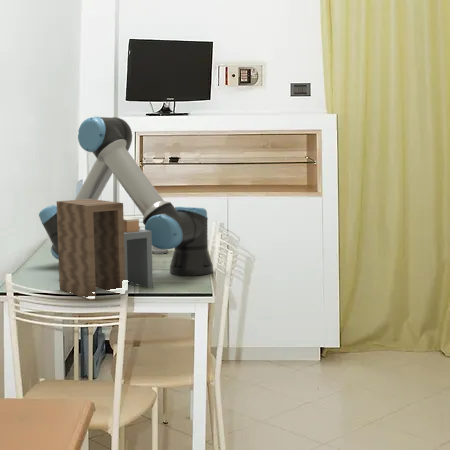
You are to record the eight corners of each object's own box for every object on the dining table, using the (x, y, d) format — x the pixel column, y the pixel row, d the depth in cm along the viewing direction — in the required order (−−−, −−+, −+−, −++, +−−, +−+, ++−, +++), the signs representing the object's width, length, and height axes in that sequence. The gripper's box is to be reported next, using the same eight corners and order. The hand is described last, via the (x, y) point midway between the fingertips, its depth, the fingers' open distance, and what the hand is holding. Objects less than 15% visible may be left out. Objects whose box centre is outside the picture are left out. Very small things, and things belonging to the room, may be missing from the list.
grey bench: (94, 282, 249) (92, 228, 247) (123, 278, 256) (122, 225, 254) (123, 291, 235) (121, 234, 233) (152, 286, 242) (151, 231, 240)
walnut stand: (59, 289, 239) (56, 201, 236) (93, 284, 247) (90, 198, 243) (90, 299, 224) (87, 205, 220) (125, 294, 231) (123, 203, 228)
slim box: (86, 225, 257) (86, 213, 256) (98, 224, 260) (98, 212, 259) (126, 232, 237) (126, 219, 236) (139, 231, 240) (139, 218, 239)
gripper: (109, 241, 275) (136, 216, 259) (46, 248, 259) (70, 222, 244) (104, 222, 277) (129, 197, 261) (40, 228, 261) (64, 201, 246)
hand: (101, 209), depth 253 cm, fingers open, 13 cm apart
